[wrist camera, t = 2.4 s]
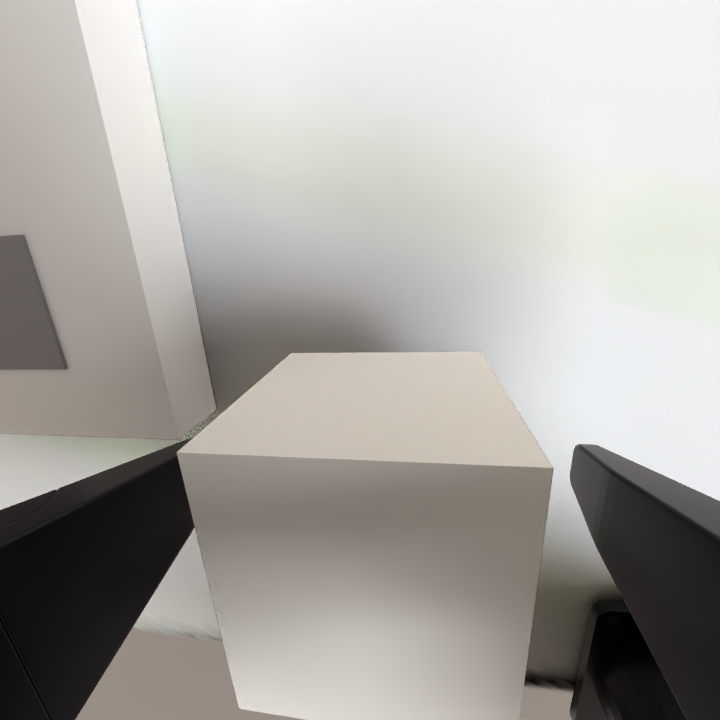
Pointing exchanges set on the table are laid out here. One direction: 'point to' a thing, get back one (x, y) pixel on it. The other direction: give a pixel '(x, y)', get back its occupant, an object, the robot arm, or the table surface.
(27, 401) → the power strip
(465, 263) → the table surface
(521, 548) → the block
